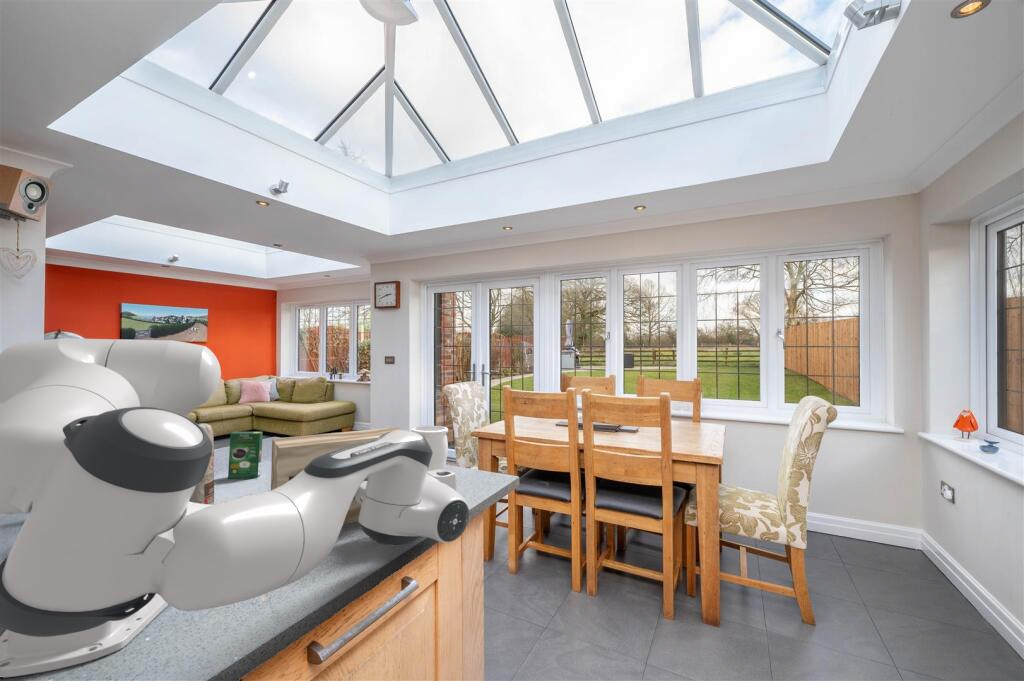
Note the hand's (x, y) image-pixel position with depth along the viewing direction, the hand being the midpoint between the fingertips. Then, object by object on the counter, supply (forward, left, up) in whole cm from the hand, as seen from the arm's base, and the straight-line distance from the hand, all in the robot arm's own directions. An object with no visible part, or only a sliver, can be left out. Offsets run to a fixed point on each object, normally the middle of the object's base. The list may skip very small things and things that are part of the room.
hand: (393, 477), depth 98 cm
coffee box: (+43, +38, -9) cm, 58 cm away
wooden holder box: (+4, +11, -9) cm, 15 cm away
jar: (+25, -12, -9) cm, 30 cm away
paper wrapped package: (+16, +43, -9) cm, 47 cm away
